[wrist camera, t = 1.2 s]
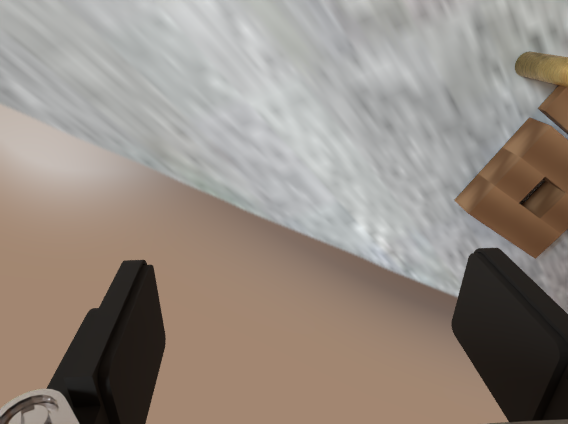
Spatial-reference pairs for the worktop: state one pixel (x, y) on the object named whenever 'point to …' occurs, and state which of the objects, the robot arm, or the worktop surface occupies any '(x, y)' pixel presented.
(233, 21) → the worktop surface
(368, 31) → the worktop surface
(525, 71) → the brass pin
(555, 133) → the socket tile
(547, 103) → the tile
